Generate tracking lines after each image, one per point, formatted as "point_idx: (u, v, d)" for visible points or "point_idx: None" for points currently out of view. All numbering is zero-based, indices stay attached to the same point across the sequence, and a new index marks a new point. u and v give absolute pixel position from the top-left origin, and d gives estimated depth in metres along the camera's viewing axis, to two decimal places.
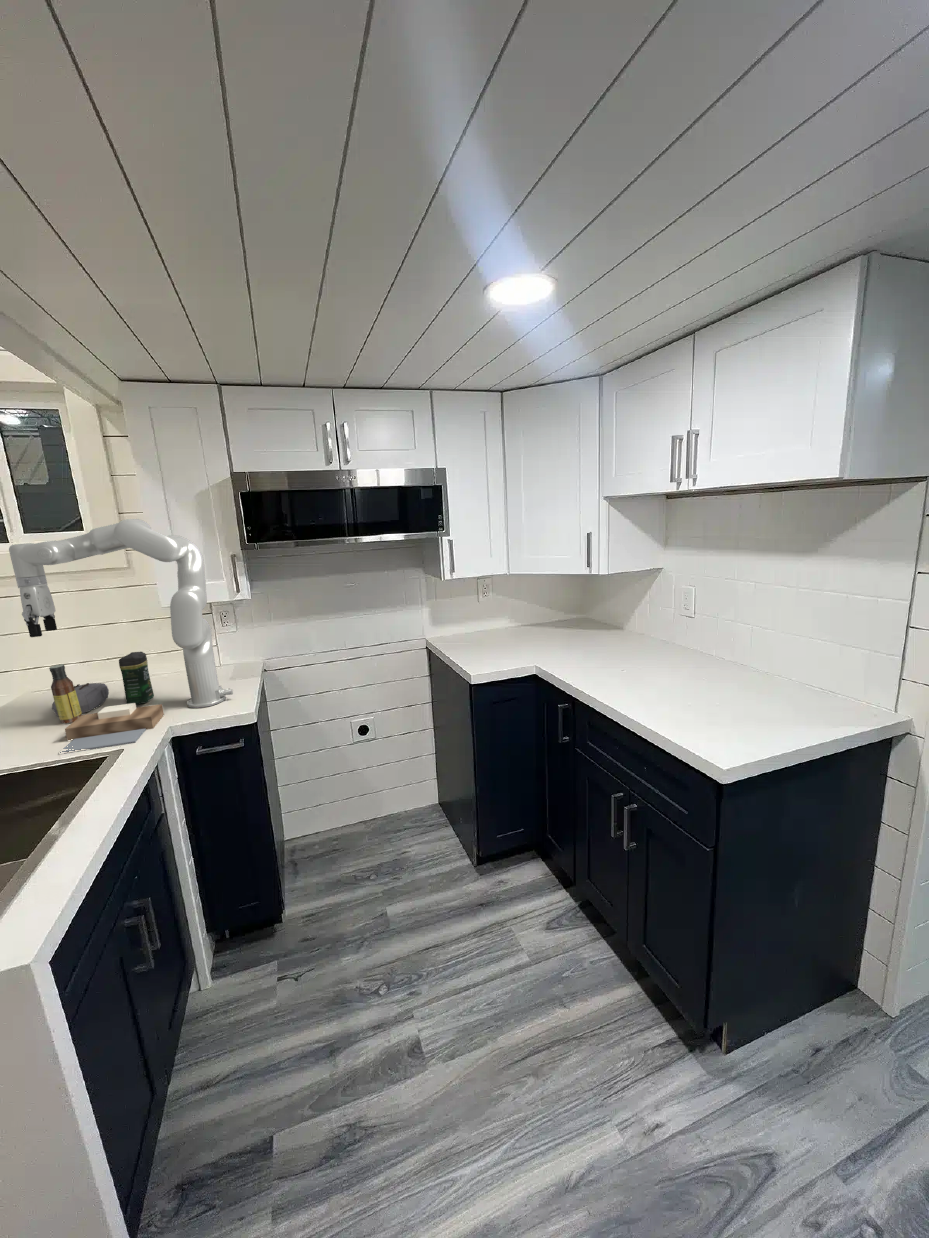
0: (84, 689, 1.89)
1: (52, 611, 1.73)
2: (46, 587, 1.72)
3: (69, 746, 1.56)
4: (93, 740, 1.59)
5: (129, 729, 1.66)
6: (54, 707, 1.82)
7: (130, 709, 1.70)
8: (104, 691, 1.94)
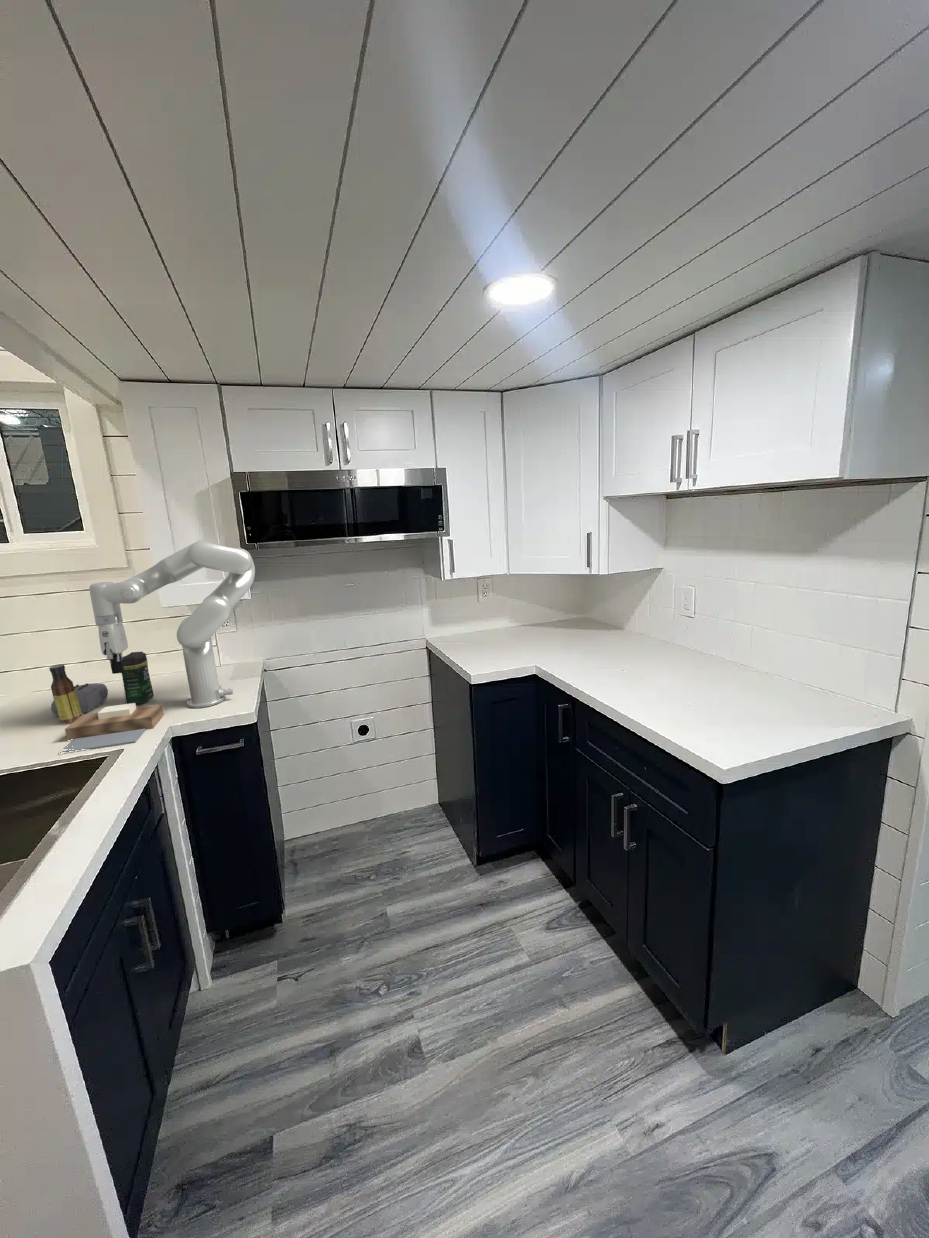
0: (83, 689, 1.89)
1: (126, 647, 1.78)
2: (121, 624, 1.76)
3: (69, 746, 1.56)
4: (93, 740, 1.59)
5: (129, 729, 1.66)
6: (53, 707, 1.82)
7: (130, 709, 1.70)
8: (103, 691, 1.94)
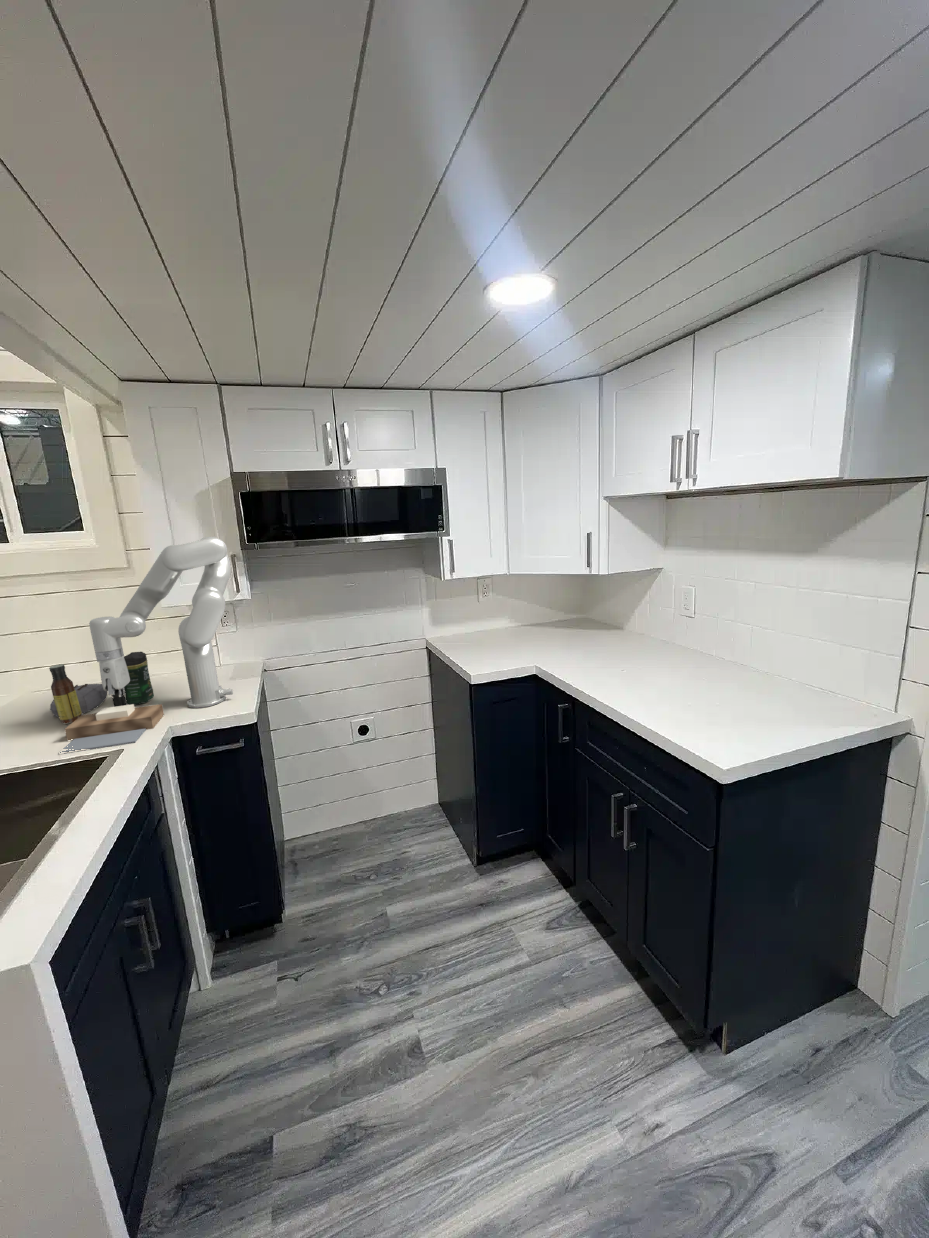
0: (82, 690, 1.88)
1: (127, 681, 1.75)
2: (122, 658, 1.74)
3: (69, 746, 1.56)
4: (93, 740, 1.59)
5: (129, 729, 1.66)
6: (52, 708, 1.82)
7: (128, 710, 1.69)
8: (102, 692, 1.93)
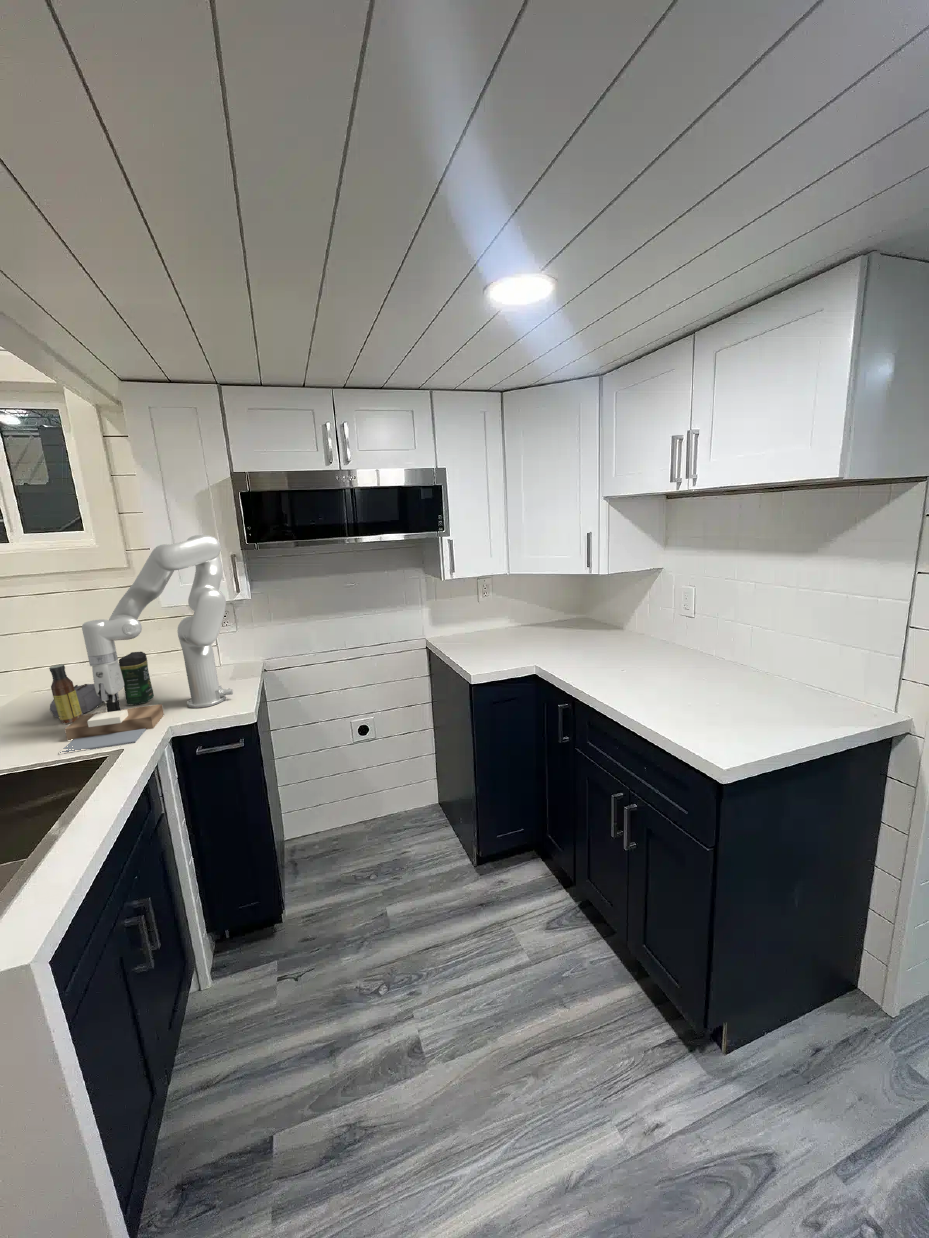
0: (82, 690, 1.88)
1: (122, 686, 1.70)
2: (116, 662, 1.69)
3: (69, 746, 1.56)
4: (93, 740, 1.59)
5: (129, 729, 1.66)
6: (52, 708, 1.81)
7: (121, 717, 1.64)
8: None
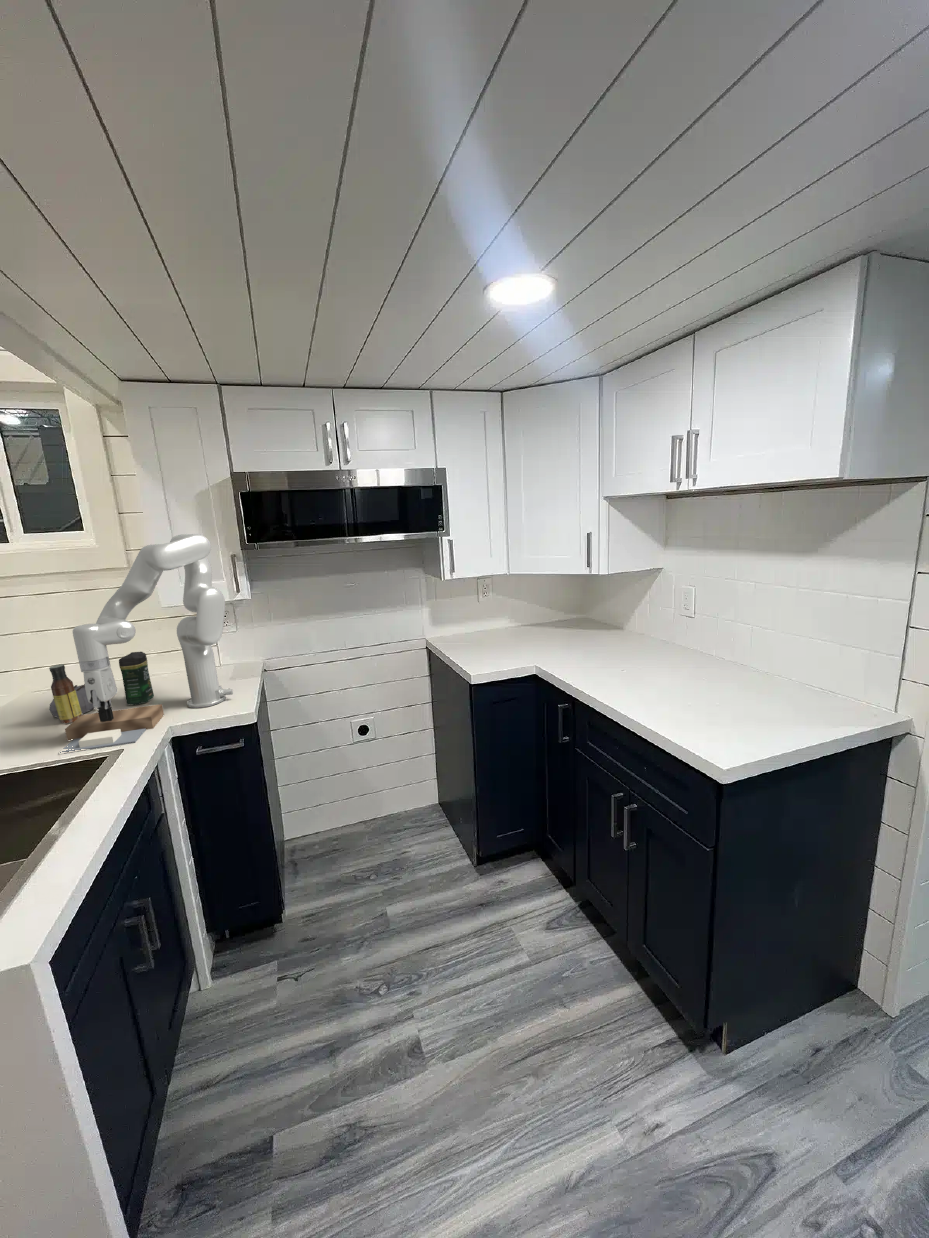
0: (82, 690, 1.88)
1: (114, 692, 1.64)
2: (109, 668, 1.62)
3: (69, 746, 1.56)
4: None
5: (129, 729, 1.66)
6: (51, 708, 1.81)
7: (119, 734, 1.61)
8: None
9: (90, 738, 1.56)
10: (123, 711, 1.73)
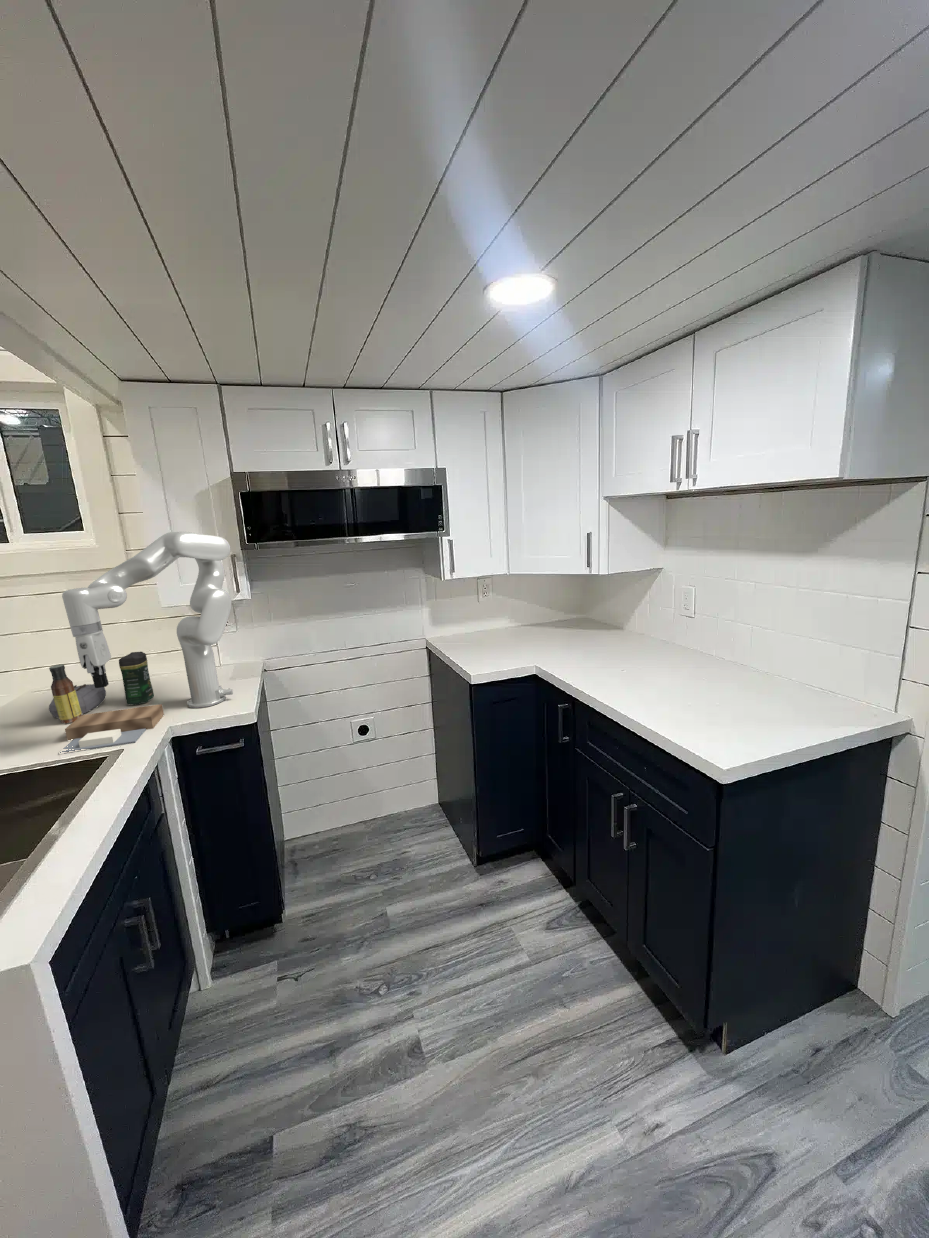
0: (81, 690, 1.88)
1: (108, 658, 1.62)
2: (101, 633, 1.60)
3: (69, 746, 1.56)
4: None
5: (129, 729, 1.66)
6: (51, 708, 1.81)
7: (119, 734, 1.61)
8: (101, 692, 1.93)
9: (90, 738, 1.56)
10: (123, 711, 1.73)
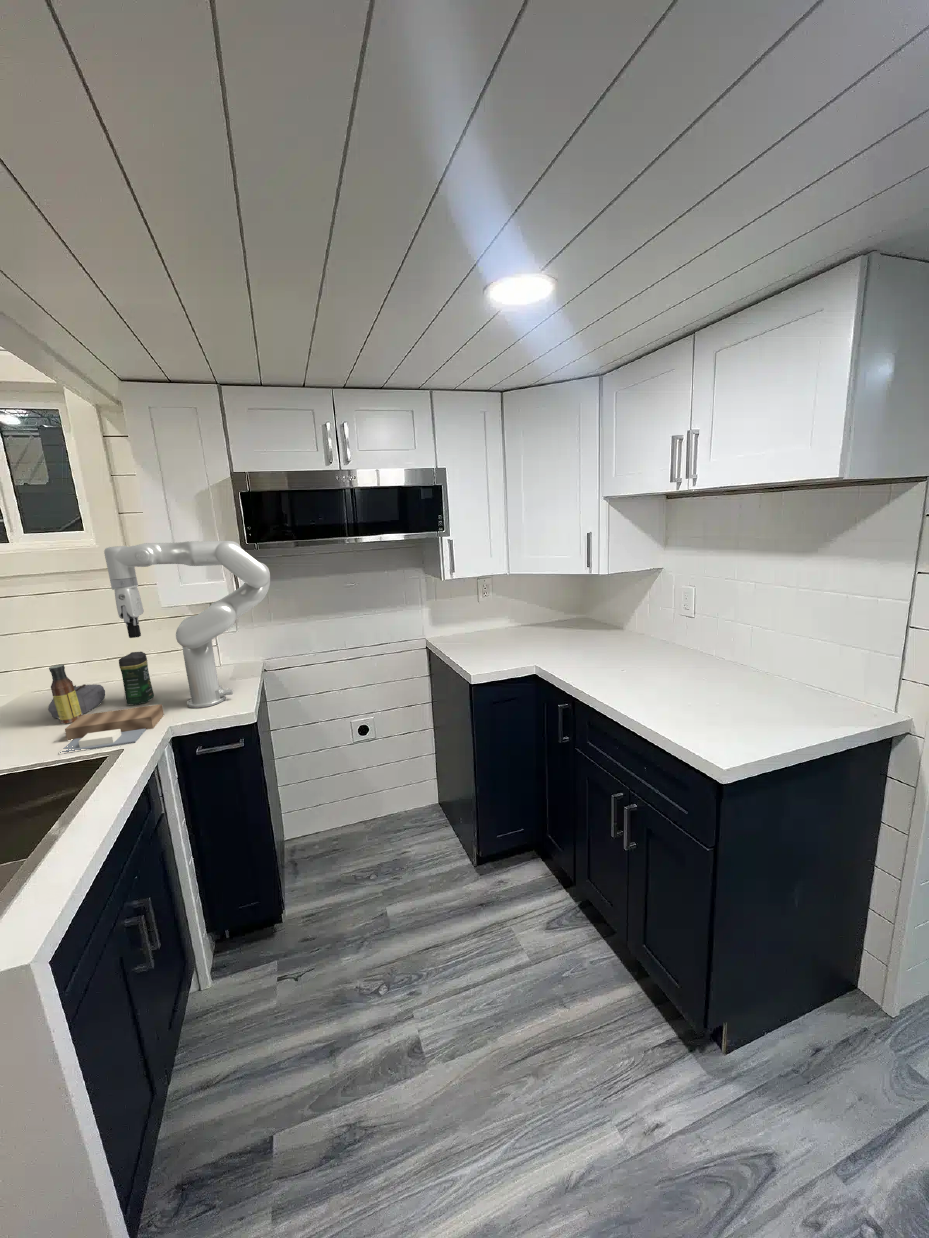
0: (81, 690, 1.87)
1: (141, 612, 1.78)
2: (136, 588, 1.77)
3: (69, 746, 1.56)
4: None
5: (129, 729, 1.66)
6: (51, 709, 1.81)
7: (119, 734, 1.61)
8: (101, 692, 1.93)
9: (90, 738, 1.56)
10: (123, 711, 1.73)
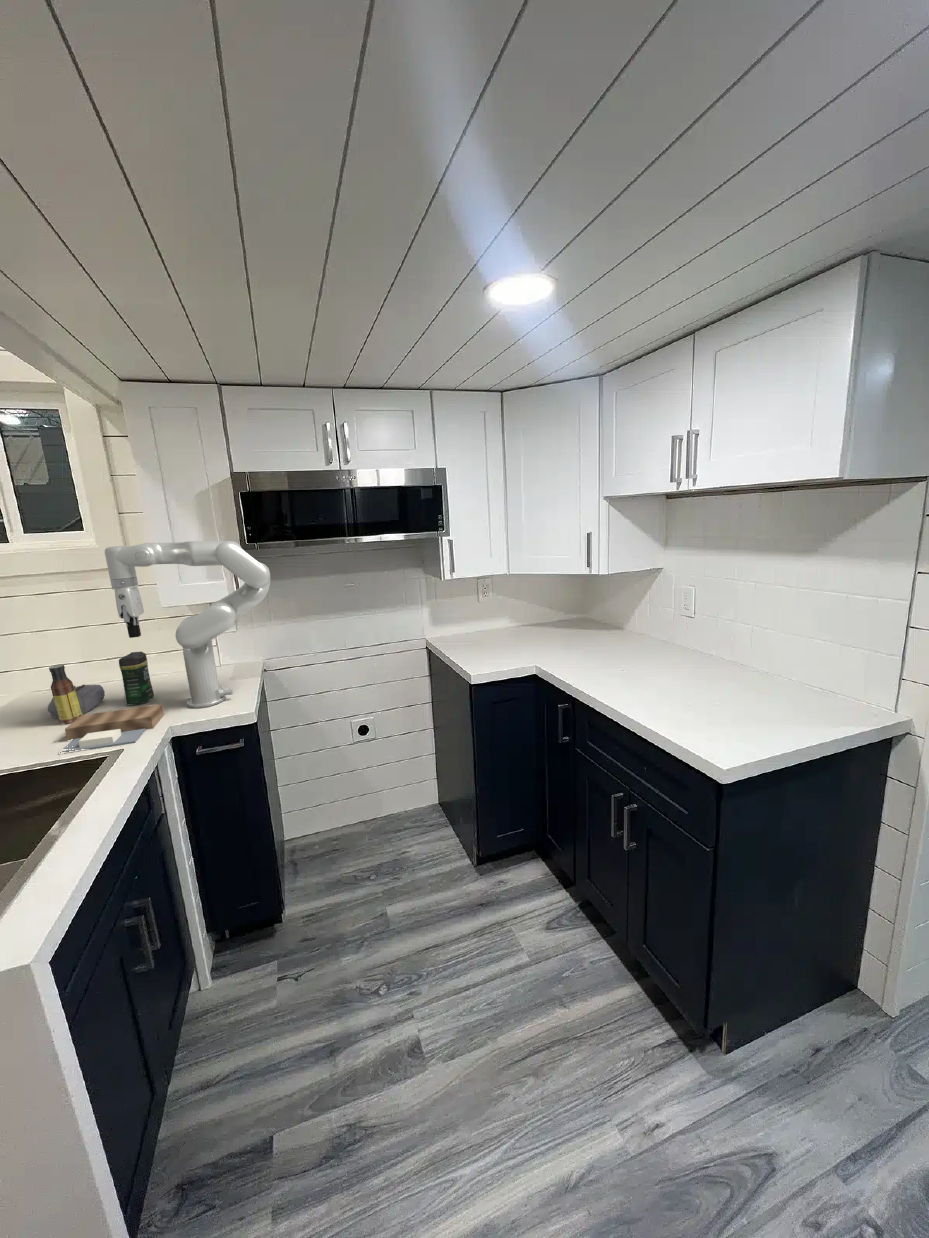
0: (80, 691, 1.87)
1: (142, 611, 1.78)
2: (136, 588, 1.77)
3: (69, 746, 1.56)
4: None
5: (129, 729, 1.66)
6: (50, 709, 1.81)
7: (119, 734, 1.61)
8: (100, 692, 1.92)
9: (90, 738, 1.56)
10: (123, 711, 1.73)
